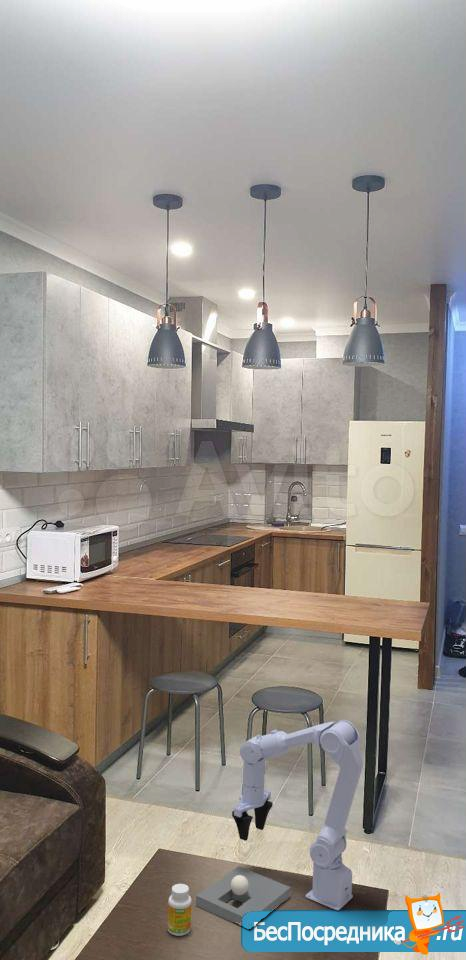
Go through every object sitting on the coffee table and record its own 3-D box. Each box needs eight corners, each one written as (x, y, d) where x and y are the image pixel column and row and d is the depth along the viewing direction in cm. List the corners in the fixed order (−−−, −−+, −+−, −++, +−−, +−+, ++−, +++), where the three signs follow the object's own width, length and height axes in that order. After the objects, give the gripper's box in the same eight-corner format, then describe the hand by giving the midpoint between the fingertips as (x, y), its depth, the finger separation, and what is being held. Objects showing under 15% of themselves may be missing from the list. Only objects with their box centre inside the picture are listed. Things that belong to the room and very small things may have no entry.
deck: (290, 897, 195) (290, 887, 195) (249, 930, 180) (249, 920, 180) (238, 875, 204) (238, 866, 204) (195, 905, 190) (196, 895, 190)
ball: (243, 879, 189) (238, 898, 188) (254, 878, 192) (249, 897, 191) (229, 872, 192) (225, 891, 191) (240, 872, 195) (235, 890, 194)
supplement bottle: (172, 938, 176) (174, 896, 176) (163, 926, 181) (165, 884, 181) (194, 933, 179) (195, 891, 179) (184, 920, 184) (186, 879, 183)
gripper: (256, 771, 215) (254, 819, 215) (225, 787, 203) (223, 839, 203) (277, 778, 211) (276, 827, 211) (247, 795, 199) (245, 847, 199)
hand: (251, 833), depth 207 cm, fingers open, 7 cm apart
